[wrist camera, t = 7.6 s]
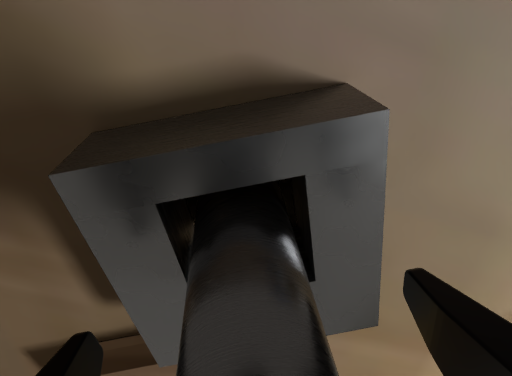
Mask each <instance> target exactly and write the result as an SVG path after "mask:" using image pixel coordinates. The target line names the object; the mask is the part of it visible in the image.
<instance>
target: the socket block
mask: <svg viewBox="0 0 512 376" xmlns="http://www.w3.org/2000/svg"><path fill="white" fill-rule="evenodd" d="M388 128H389V109H388V108H387V107H385V106H383V105H382V104H380V103H379V102H377V101H375V100H374V99H372V98H370V97H369V96H367V95H366V94H364V93H362V92H361V91H359V90H357V89H356V88H354V87H353V86H351V85H349V84H348V83H346V84H341V85H336V86H331V87H326V88H321V89H316V90H311V91H305V92H300V93H295V94H290V95H285V96H280V97H275V98H269V99H264V100H259V101H254V102H249V103H244V104H239V105H234V106H228V107H223V108H218V109H213V110H208V111H203V112H198V113H192V114H187V115H182V116H177V117H172V118H167V119H162V120H156V121H151V122H146V123H141V124H136V125H131V126H126V127H121V128H115V129H110V130H105V131H100V132H95V133H91V134H90V135H89V136H88V137H87V138H86V139H85V140H84V141H83V142H82V143H81V144H80V145H79V146H78V147H77V148H76V149H75V150H74V151H73V152H72V153H71V154H70V155H69V156H68V157H67V158H66V159H65V160H63V161H62V162H61V163H60V164H59V165H58V166H57V167H56V168H55V169H54V170H53V171H52V172H51V173H50V174H49V175H48V176H49V178H50V180H51V182H52V183H53V185H54V187H55V188H56V190H57V192H58V194H59V195H60V197H61V199H62V201H63V202H64V204H65V206H66V207H67V209H68V211H69V213H70V214H71V216H72V218H73V219H74V221H75V223H76V225H77V226H78V228H79V230H80V231H81V233H82V235H83V237H84V238H85V240H86V242H87V243H88V245H89V247H90V249H91V250H92V252H93V254H94V256H95V257H96V259H97V261H98V262H99V264H100V266H101V268H102V269H103V271H104V273H105V274H106V276H107V278H108V280H109V281H110V283H111V285H112V286H113V288H114V290H115V292H116V293H117V295H118V297H119V299H120V300H121V302H122V304H123V305H124V307H125V309H126V311H127V312H128V314H129V316H130V317H131V319H132V321H133V323H134V324H135V326H136V328H137V329H138V331H139V333H140V335H141V336H142V338H143V340H144V341H145V343H146V345H147V347H148V348H149V350H150V352H151V354H152V355H153V357H154V359H155V360H156V362H157V364H158V366H159V367H160V368H161V367H166V366H171V365H177V363H178V355H179V347H180V339H181V331H182V323H183V315H184V306H185V298H186V290H187V282H188V274H189V266H190V258H191V250H192V242H193V234H194V225H193V222H192V219H191V216H190V213H189V210H188V207H187V204H186V201H185V198H188V197H193V196H199V195H204V194H209V193H214V192H219V191H224V190H229V189H235V188H240V187H245V186H250V185H255V184H260V183H266V182H271V181H276V180H281V179H286V178H291V182H292V190H293V198H294V206H295V213H296V221H297V227H294V228H292V230H293V233H294V236H295V239H296V242H297V245H298V249H299V252H300V255H301V258H302V261H303V264H304V267H305V271H306V274H307V277H308V280H309V283H310V286H311V290H312V293H313V296H314V299H315V302H316V305H317V308H318V312H319V315H320V318H321V321H322V324H323V327H324V331H325V334H326V336H327V335H333V334H338V333H343V332H348V331H353V330H359V329H364V328H369V327H374V326H378V318H379V299H380V280H381V261H382V242H383V223H384V204H385V185H386V166H387V147H388Z"/></svg>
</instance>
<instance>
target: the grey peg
mask: <svg viewBox="0 0 512 376" xmlns="http://www.w3.org/2000/svg"><path fill="white" fill-rule="evenodd" d="M176 376H339V375H338V372H337V368H336V365H335V362H334V359H333V356H332V353H331V349H330V346H329V343H328V340H327V337H326V334H325V331H324V327H323V324H322V321H321V318H320V315H319V312H318V308H317V305H316V302H315V299H314V296H313V293H312V290H311V286H310V283H309V280H308V277H307V274H306V271H305V267H304V264H303V261H302V258H301V255H300V252H299V249H298V245H297V242H296V239H295V236H294V233H293V230H292V226H291V223H290V220H289V217H288V214H287V211H286V208H285V204H284V201H283V198H282V195H281V192H280V189H279V185H278V182H277V180H276V181H271V182H266V183H260V184H255V185H250V186H245V187H240V188H235V189H229V190H224V191H219V192H214V193H209V194H204V195H199V196H198V202H197V210H196V218H195V226H194V234H193V242H192V250H191V258H190V266H189V274H188V282H187V290H186V298H185V306H184V315H183V323H182V331H181V339H180V347H179V355H178V363H177V371H176Z"/></svg>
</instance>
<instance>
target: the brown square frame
mask: <svg viewBox="0 0 512 376" xmlns="http://www.w3.org/2000/svg"><path fill="white" fill-rule="evenodd" d="M99 343H100V345H101V346H102V348H103V362H102V369H101V376H176V371H177V365H171V366H166V367H161V368H160V367H159V366H158V364H157V362H156V360H155V359H154V357H153V355H152V354H151V352H150V350H149V348H148V347H147V345H146V343H145V341H144V340H143V338H142V336H141V335H136V336H131V337H125V338H120V339H115V340H110V341H105V342H99Z"/></svg>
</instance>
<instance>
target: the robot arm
mask: <svg viewBox="0 0 512 376" xmlns="http://www.w3.org/2000/svg"><path fill="white" fill-rule="evenodd" d="M403 294H404V297H405V299H406V302H407V304H408V306H409V308H410V310H411V313H412V315H413V317H414V319H415V321H416V324H417V326H418V328H419V330H420V332H421V334H422V337H423V339H424V341H425V343H426V345H427V347H428V349H429V351H430V353H431V355H432V357H433V359H434V360H435V362H436V364H437V365H438V367H439V369H440V371H441V372H442V374H443V376H512V323H510V322H509V321H507V320H505V319H504V318H502V317H501V316H499V315H497V314H496V313H494V312H492V311H491V310H489V309H488V308H486V307H484V306H483V305H481V304H479V303H478V302H476V301H475V300H473V299H471V298H470V297H468V296H466V295H465V294H463V293H462V292H460V291H458V290H457V289H455V288H453V287H452V286H450V285H449V284H447V283H445V282H444V281H442V280H440V279H439V278H437V277H436V276H434V275H432V274H431V273H429V272H427V271H426V270H424V269H422V268H414V269H409V270H406V272H405V276H404V285H403ZM102 362H103V348H102V346H101V345H100V343H99V342H98V341H97V339H96V338H95V336H94V335H93V334H92V333H91V332H89V331H87V332H81V333H77V334H75V335H73V336H72V337H71V338H70V339H69V340H68V341H67V342H66V343H65V344H64V345H63V347H62V348H61V349H60V350H59V351H58V352H57V353H56V354H55V355H54V356H53V357H52V358H51V359H50V361H49V362H48V363H47V364H46V365H45V366H44V367H43V368H42V369H41V370H40V371H39V372H38V373H37V375H36V376H101V369H102Z"/></svg>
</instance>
